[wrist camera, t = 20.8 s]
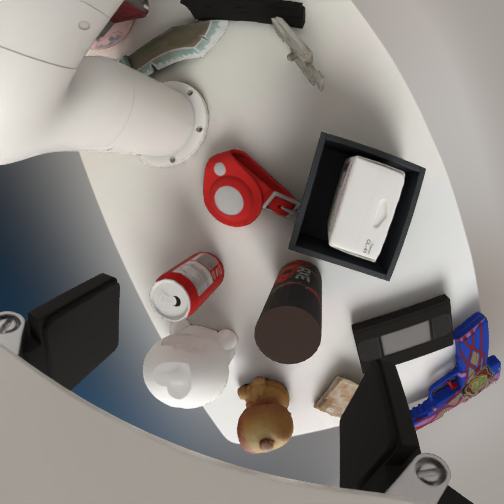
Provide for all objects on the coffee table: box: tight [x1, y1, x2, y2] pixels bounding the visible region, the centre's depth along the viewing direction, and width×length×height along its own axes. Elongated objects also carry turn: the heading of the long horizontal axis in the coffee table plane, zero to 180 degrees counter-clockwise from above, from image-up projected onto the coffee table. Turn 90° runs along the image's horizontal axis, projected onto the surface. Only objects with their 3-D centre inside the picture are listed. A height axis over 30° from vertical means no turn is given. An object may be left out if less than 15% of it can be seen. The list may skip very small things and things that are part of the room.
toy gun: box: [410, 312, 501, 431], centre depth 37 cm, size 4×22×15 cm
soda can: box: [149, 252, 224, 322], centre depth 37 cm, size 6×6×12 cm
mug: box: [90, 20, 133, 50], centre depth 33 cm, size 12×10×6 cm
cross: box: [271, 17, 324, 91], centre depth 29 cm, size 10×3×10 cm, turn 31°
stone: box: [314, 376, 359, 418], centre depth 42 cm, size 9×6×2 cm
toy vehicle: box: [96, 0, 149, 42], centre depth 28 cm, size 7×18×8 cm
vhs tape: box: [352, 294, 453, 374], centre depth 38 cm, size 8×14×2 cm, turn 110°
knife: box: [119, 20, 229, 76], centre depth 37 cm, size 3×7×30 cm
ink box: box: [327, 156, 405, 262], centre depth 30 cm, size 9×5×12 cm, turn 165°
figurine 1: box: [143, 318, 238, 409], centre depth 39 cm, size 11×11×15 cm
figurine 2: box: [237, 377, 293, 454], centre depth 39 cm, size 10×8×15 cm
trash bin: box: [288, 132, 426, 281], centre depth 32 cm, size 11×12×9 cm
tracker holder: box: [203, 149, 301, 227], centre depth 37 cm, size 12×4×10 cm
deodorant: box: [255, 260, 322, 364], centre depth 33 cm, size 6×6×15 cm
